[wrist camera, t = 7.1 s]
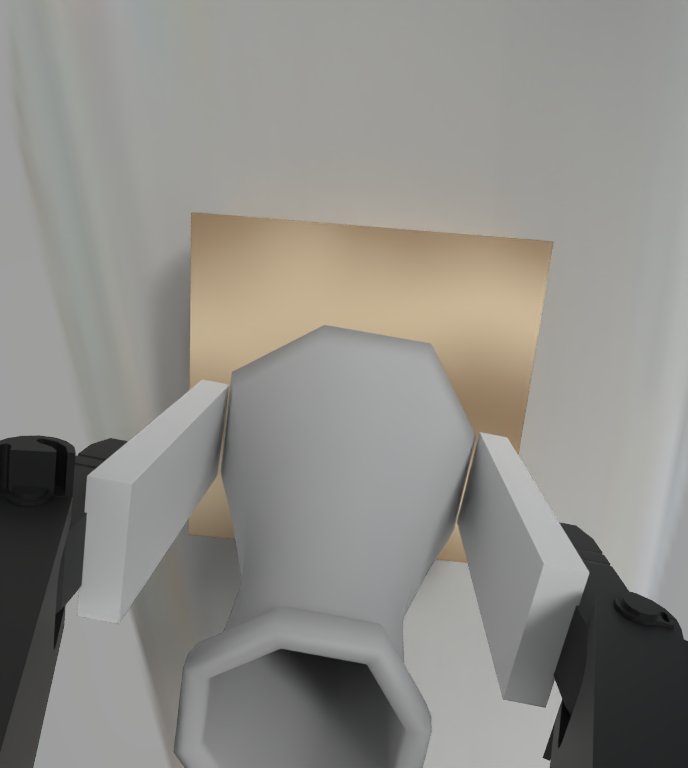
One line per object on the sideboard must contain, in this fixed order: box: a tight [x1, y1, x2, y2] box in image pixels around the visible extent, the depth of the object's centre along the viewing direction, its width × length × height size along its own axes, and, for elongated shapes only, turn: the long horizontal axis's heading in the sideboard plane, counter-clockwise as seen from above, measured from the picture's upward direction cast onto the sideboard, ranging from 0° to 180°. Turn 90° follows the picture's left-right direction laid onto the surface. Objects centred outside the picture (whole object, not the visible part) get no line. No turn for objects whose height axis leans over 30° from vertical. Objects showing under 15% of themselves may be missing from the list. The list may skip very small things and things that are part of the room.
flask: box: [174, 325, 476, 768], centre depth 12 cm, size 7×7×10 cm
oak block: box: [188, 213, 553, 563], centre depth 24 cm, size 12×12×5 cm
